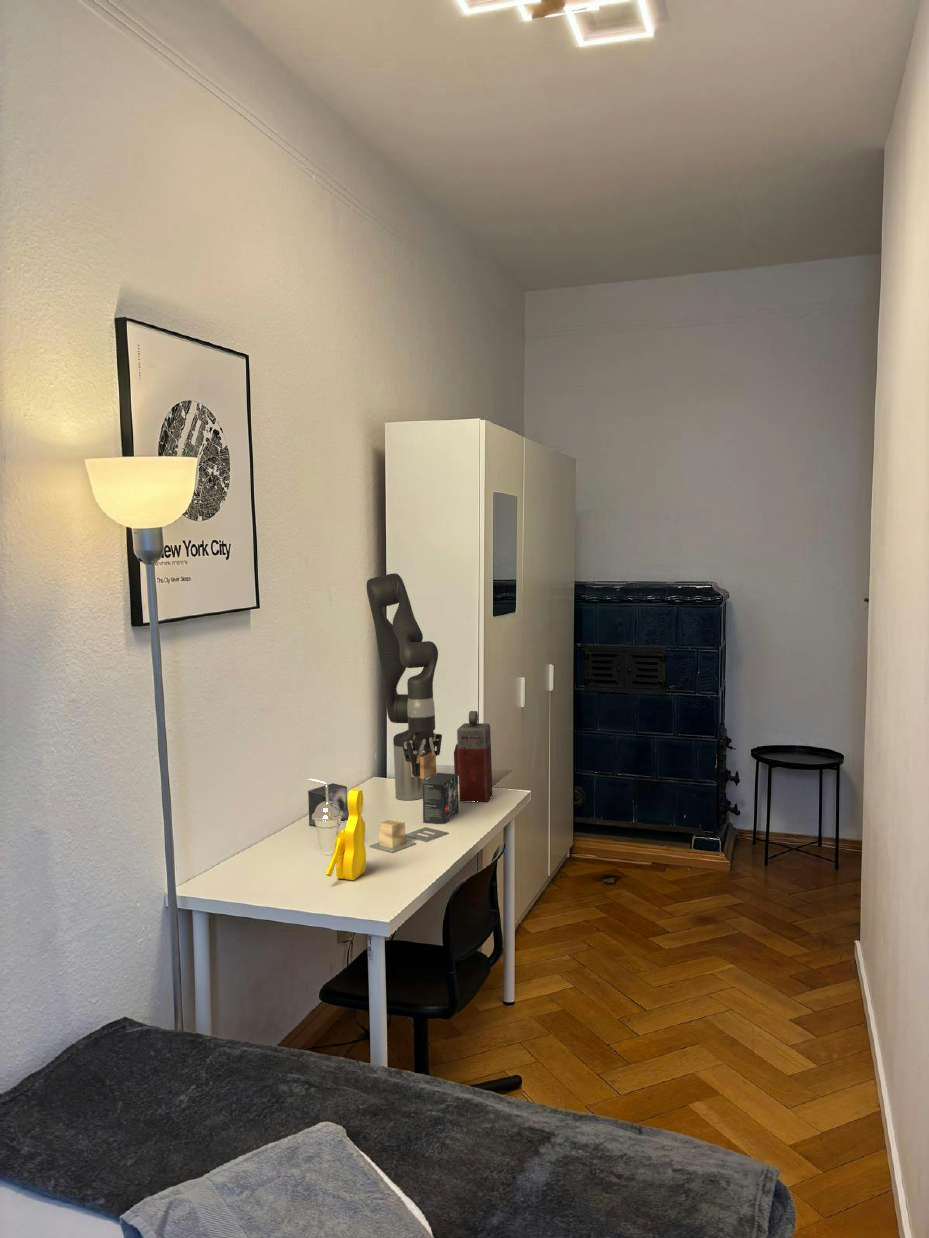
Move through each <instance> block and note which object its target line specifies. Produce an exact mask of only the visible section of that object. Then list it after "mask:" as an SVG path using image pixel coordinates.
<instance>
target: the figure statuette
mask: <svg viewBox="0 0 929 1238" xmlns="http://www.w3.org/2000/svg"><path fill="white" fill-rule="evenodd" d="M363 805H364V793H363V790H362V789H359V788H351V789H350V790H349V791H348V793H347V806H348V820H347V822H346V825H345V828H344V829H342V830H341V831H339V833H338V835H337V836H336V837H337V840H336V843H335V850H334V853H333V855H331V858H330V861H329V864H328V866H327V869H326V871H325V876H327V877H332V876H333V874H334V870H335V869H336V874H335V875H336V878H337V879H342V880H343V879H344V880H349V881H355V880H356V879H358V878H359V877H360V876H362V875H363V874H364V873H365V871H366V862H367V861H366V860H367V854H366V853H367V852H366V846H365V836H366V824H365V821H364V819H363V816H362V811H363Z"/></svg>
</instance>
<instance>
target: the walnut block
mask: <svg viewBox="0 0 929 1238" xmlns="http://www.w3.org/2000/svg"><path fill="white" fill-rule="evenodd" d="M415 759H416V755H415ZM419 763H420V776H419V777H416V778H421V779H426V780H427V779H429V778H430V777H433V776H436V775H437V756H436V754H430V753H425V751H423V753H422V755H421V757H420V761H419ZM411 777H415V776H413V774H412V763H411Z"/></svg>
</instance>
